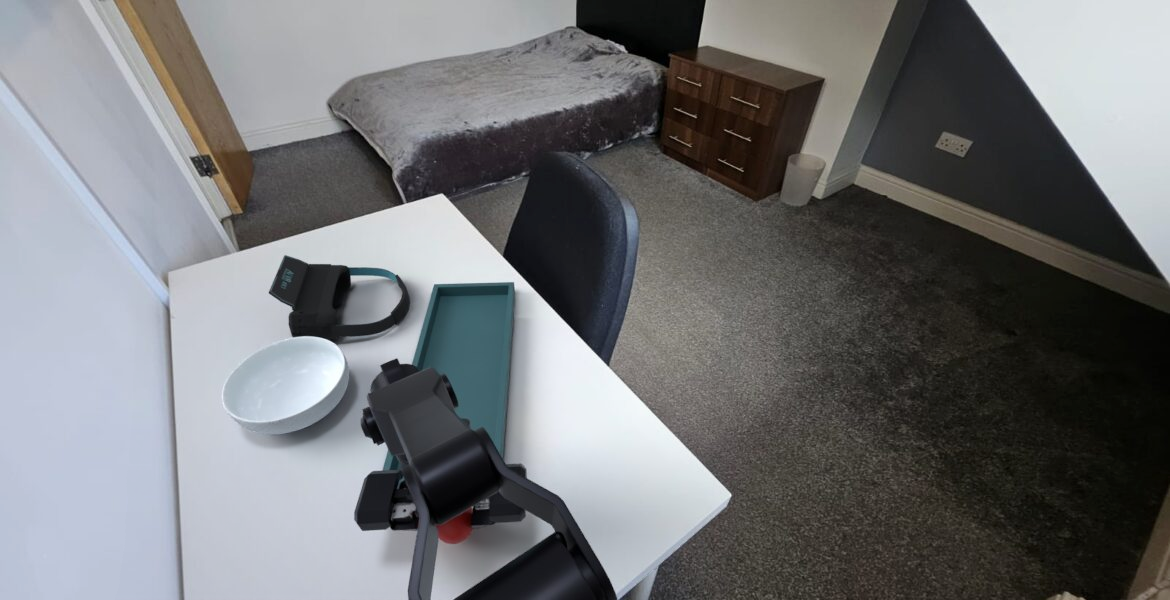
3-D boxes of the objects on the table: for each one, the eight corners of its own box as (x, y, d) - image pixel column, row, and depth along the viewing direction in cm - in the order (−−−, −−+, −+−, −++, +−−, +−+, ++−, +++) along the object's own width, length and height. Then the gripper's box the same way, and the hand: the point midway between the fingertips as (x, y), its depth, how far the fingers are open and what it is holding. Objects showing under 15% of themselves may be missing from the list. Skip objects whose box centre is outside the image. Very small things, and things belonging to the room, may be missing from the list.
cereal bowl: (218, 446, 70) (193, 418, 65) (278, 361, 82) (260, 333, 78) (331, 452, 69) (313, 424, 65) (374, 366, 82) (362, 337, 77)
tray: (501, 487, 66) (498, 476, 64) (384, 493, 65) (378, 482, 63) (515, 293, 97) (514, 281, 95) (436, 295, 96) (434, 284, 94)
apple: (475, 549, 59) (468, 529, 55) (434, 551, 59) (425, 532, 55) (479, 509, 63) (473, 488, 59) (441, 511, 62) (433, 490, 58)
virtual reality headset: (298, 284, 96) (288, 243, 90) (412, 284, 103) (409, 245, 96) (275, 349, 83) (261, 306, 76) (408, 344, 89) (404, 303, 83)
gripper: (524, 397, 56) (531, 464, 66) (364, 403, 55) (397, 471, 65) (520, 485, 48) (529, 547, 58) (332, 496, 47) (375, 557, 57)
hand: (456, 526), depth 60 cm, fingers closed on apple, 5 cm apart
